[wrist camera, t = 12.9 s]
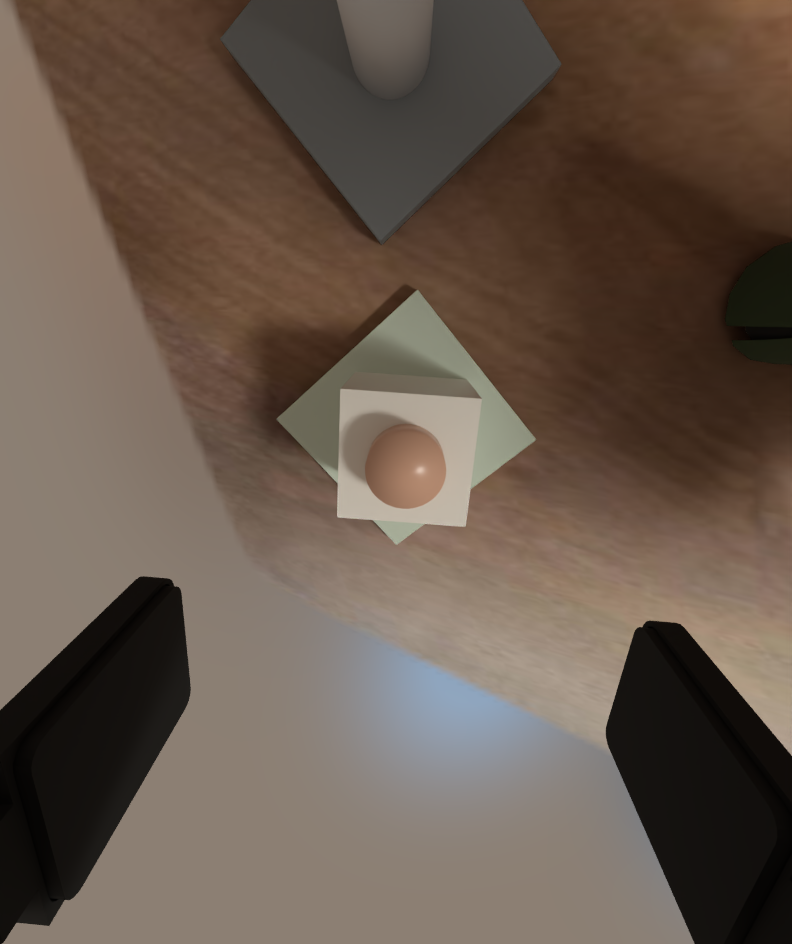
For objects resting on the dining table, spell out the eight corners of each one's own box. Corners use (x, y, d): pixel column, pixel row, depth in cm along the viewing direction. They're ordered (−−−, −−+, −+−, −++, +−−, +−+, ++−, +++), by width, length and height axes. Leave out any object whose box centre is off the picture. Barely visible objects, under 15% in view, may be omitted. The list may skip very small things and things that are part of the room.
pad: (533, 436, 28) (536, 439, 27) (396, 539, 31) (396, 545, 30) (417, 290, 26) (417, 289, 25) (279, 416, 28) (276, 419, 28)
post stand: (552, 79, 22) (645, -75, 13) (381, 245, 25) (364, 209, 16) (404, -157, 20) (397, -543, 11) (232, 56, 22) (112, -112, 13)
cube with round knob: (467, 379, 26) (487, 405, 19) (455, 483, 29) (468, 541, 21) (355, 371, 26) (335, 394, 19) (352, 476, 29) (332, 531, 22)
